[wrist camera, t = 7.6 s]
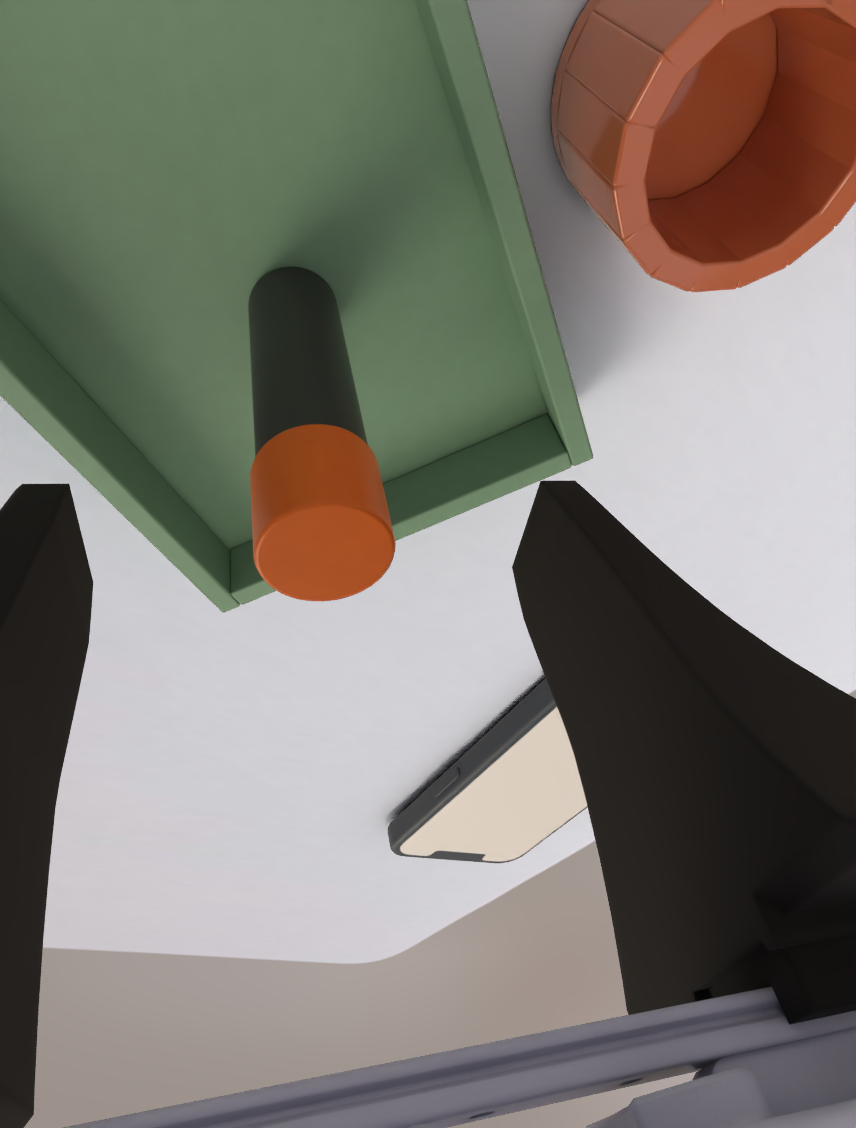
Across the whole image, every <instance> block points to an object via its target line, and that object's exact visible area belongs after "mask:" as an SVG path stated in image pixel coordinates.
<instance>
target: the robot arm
mask: <svg viewBox="0 0 856 1128" xmlns="http://www.w3.org/2000/svg"><path fill="white" fill-rule="evenodd" d="M512 568H513V573H514V578H515V583H516V587H517V592H518V597H519V601H520V605H521V609H522V613H523V617H524V621H525V623H526V626H527V629H528V632H529V634H530V637H531V640H532V642H533V645H534V648H535V651H536V653H537V656H538V659H539V661H540V664H541V666H542V669H543V672H544V674H545V677H546V679H547V682H548V685H549V687H550V690H551V692H552V695H553V698H554V700H555V703H556V706H557V708H558V711H559V713H560V716H561V719H562V721H563V724H564V726H565V729H566V732H567V735H568V738H569V741H570V744H571V747H572V750H573V753H574V756H575V760H576V764H577V768H578V772H579V775H580V779H581V783H582V787H583V791H584V794H585V798H586V802H587V806H588V810H589V814H590V819H591V823H592V827H593V831H594V836H595V840H596V844H597V848H598V853H599V857H600V862H601V866H602V872H603V876H604V881H605V886H606V891H607V896H608V901H609V906H610V911H611V916H612V921H613V927H614V933H615V939H616V945H617V950H618V956H619V962H620V968H621V974H622V980H623V987H624V993H625V999H626V1007H627V1011H628V1014H629V1015H626V1016H622V1017H616V1018H611V1019H606V1020H602V1021H596V1022H592V1023H586V1024H581V1025H576V1026H571V1027H566V1028H561V1029H556V1030H551V1031H546V1032H541V1033H536V1034H531V1035H526V1036H522V1037H516V1038H511V1039H506V1040H501V1041H496V1042H491V1043H486V1044H481V1045H476V1046H471V1047H466V1048H461V1049H456V1050H451V1051H446V1052H441V1053H436V1054H430V1055H426V1056H420V1057H415V1058H410V1059H406V1060H401V1061H395V1062H390V1063H385V1064H380V1065H375V1066H370V1067H365V1068H360V1069H355V1070H350V1071H345V1072H340V1073H335V1074H330V1075H325V1076H320V1077H315V1078H310V1079H305V1080H300V1081H295V1082H290V1083H285V1084H280V1085H275V1086H270V1087H265V1088H260V1089H255V1090H250V1091H245V1092H240V1093H235V1094H230V1095H225V1096H219V1097H215V1098H210V1099H204V1100H199V1101H194V1102H189V1103H184V1104H180V1105H175V1106H169V1107H164V1108H159V1109H154V1110H150V1111H144V1112H139V1113H134V1114H129V1115H124V1116H119V1117H114V1118H109V1119H104V1120H99V1121H94V1122H89V1123H84V1124H79V1125H74V1126H69V1127H64V1128H446V1127H451V1126H455V1125H460V1124H464V1123H469V1122H473V1121H477V1120H482V1119H486V1118H491V1117H495V1116H500V1115H504V1114H509V1113H513V1112H517V1111H522V1110H526V1109H531V1108H535V1107H540V1106H544V1105H549V1104H553V1103H558V1102H562V1101H567V1100H571V1099H575V1098H580V1097H584V1096H589V1095H593V1094H597V1093H602V1092H606V1091H611V1090H616V1089H619V1088H624V1087H629V1086H633V1085H638V1084H642V1083H646V1082H651V1081H656V1080H660V1079H664V1078H669V1077H673V1076H678V1075H682V1074H686V1073H691V1072H695V1071H698V1072H696V1074H695V1076H694V1078H693V1080H692V1081H690V1082H686V1083H683V1084H680V1085H677V1086H673V1087H670V1088H666V1089H663V1090H660V1091H657V1092H653V1093H650V1094H647V1095H644V1096H641V1097H637V1098H634V1099H633V1100H632V1102H631V1103H630V1104H629V1106H628V1107H626V1108H624V1109H622V1110H620V1111H619V1112H617V1113H615V1114H613V1115H611V1116H609V1117H607V1118H605V1119H602V1120H600V1121H597V1122H595V1123H593V1124H590V1125H588V1126H587V1127H586V1128H856V699H855V698H854V697H852V696H850V695H848V694H846V693H845V692H843V691H841V690H839V689H838V688H836V687H834V686H832V685H831V684H829V683H827V682H826V681H824V680H822V679H821V678H819V677H818V676H816V675H814V674H813V673H811V672H809V671H808V670H806V669H804V668H803V667H801V666H800V665H798V664H796V663H795V662H793V661H791V660H790V659H788V658H787V657H785V656H784V655H782V654H781V653H779V652H778V651H776V650H775V649H773V648H772V647H770V646H769V645H767V644H766V643H765V642H763V641H762V640H760V639H759V638H757V637H756V636H755V635H753V634H752V633H750V632H749V631H748V630H746V629H745V628H743V627H742V626H741V625H739V624H738V623H736V622H735V621H734V620H732V619H731V618H730V617H728V616H727V615H726V614H724V613H723V612H722V611H721V610H719V609H718V608H717V607H715V606H714V605H713V604H712V603H711V602H709V601H708V600H707V599H706V598H704V597H703V596H702V595H701V594H700V593H698V592H697V591H696V590H695V589H693V588H692V587H691V586H690V585H689V584H687V583H686V582H685V581H684V580H683V579H682V578H680V577H679V576H678V575H677V574H676V573H675V572H673V571H672V570H671V569H670V568H669V567H668V566H667V565H666V564H664V563H663V562H662V561H661V560H660V559H659V558H658V557H657V556H656V555H654V554H653V553H652V552H651V551H650V550H649V549H648V548H647V547H646V546H645V545H644V544H642V543H641V542H640V541H639V540H638V539H637V538H636V537H635V536H634V535H633V534H632V533H631V532H630V531H629V530H628V529H626V528H625V527H624V526H623V525H622V524H621V523H620V522H619V521H618V520H617V519H616V518H615V517H614V516H613V515H612V514H611V513H610V512H609V511H607V510H606V509H605V508H604V507H603V506H602V505H601V504H600V503H599V502H598V501H597V500H596V499H595V498H594V497H593V496H591V495H590V494H589V493H588V492H587V491H586V490H585V489H584V488H583V487H581V486H580V485H579V484H578V483H577V482H576V481H541V482H540V485H539V488H538V491H537V494H536V497H535V500H534V503H533V506H532V509H531V512H530V515H529V518H528V521H527V524H526V527H525V530H524V533H523V536H522V539H521V542H520V545H519V548H518V551H517V554H516V557H515V560H514V563H513V566H512ZM92 591H93V580H92V576H91V572H90V568H89V563H88V559H87V555H86V551H85V547H84V543H83V539H82V535H81V531H80V527H79V523H78V519H77V514H76V510H75V506H74V502H73V498H72V494H71V490H70V486H69V484H22V485H21V486H20V487H18V488H17V489H16V490H15V491H14V493H13V494H12V495H11V497H10V498H9V499H8V501H7V502H6V503H5V504H4V506H3V507H2V508H1V510H0V1128H24V1126H25V1125H26V1124H27V1123H28V1121H29V1120H30V1118H31V1117H32V1116H33V1113H34V1086H35V1066H36V1046H37V1026H38V1005H39V992H40V977H41V963H42V948H43V934H44V922H45V910H46V899H47V887H48V875H49V864H50V855H51V845H52V835H53V825H54V815H55V806H56V800H57V794H58V788H59V782H60V776H61V771H62V767H63V762H64V757H65V753H66V748H67V743H68V739H69V734H70V729H71V725H72V720H73V715H74V711H75V706H76V701H77V697H78V692H79V687H80V683H81V678H82V673H83V668H84V663H85V658H86V653H87V648H88V643H89V632H90V620H91V607H92Z"/></svg>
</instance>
